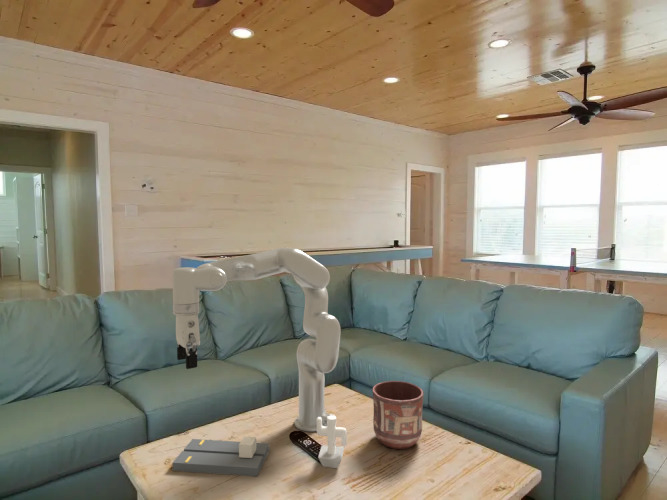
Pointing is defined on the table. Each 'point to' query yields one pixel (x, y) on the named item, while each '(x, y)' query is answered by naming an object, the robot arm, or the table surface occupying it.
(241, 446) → the fader knob
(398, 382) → the pottery
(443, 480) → the table surface
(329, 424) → the figurine
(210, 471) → the fader board
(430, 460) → the table surface
